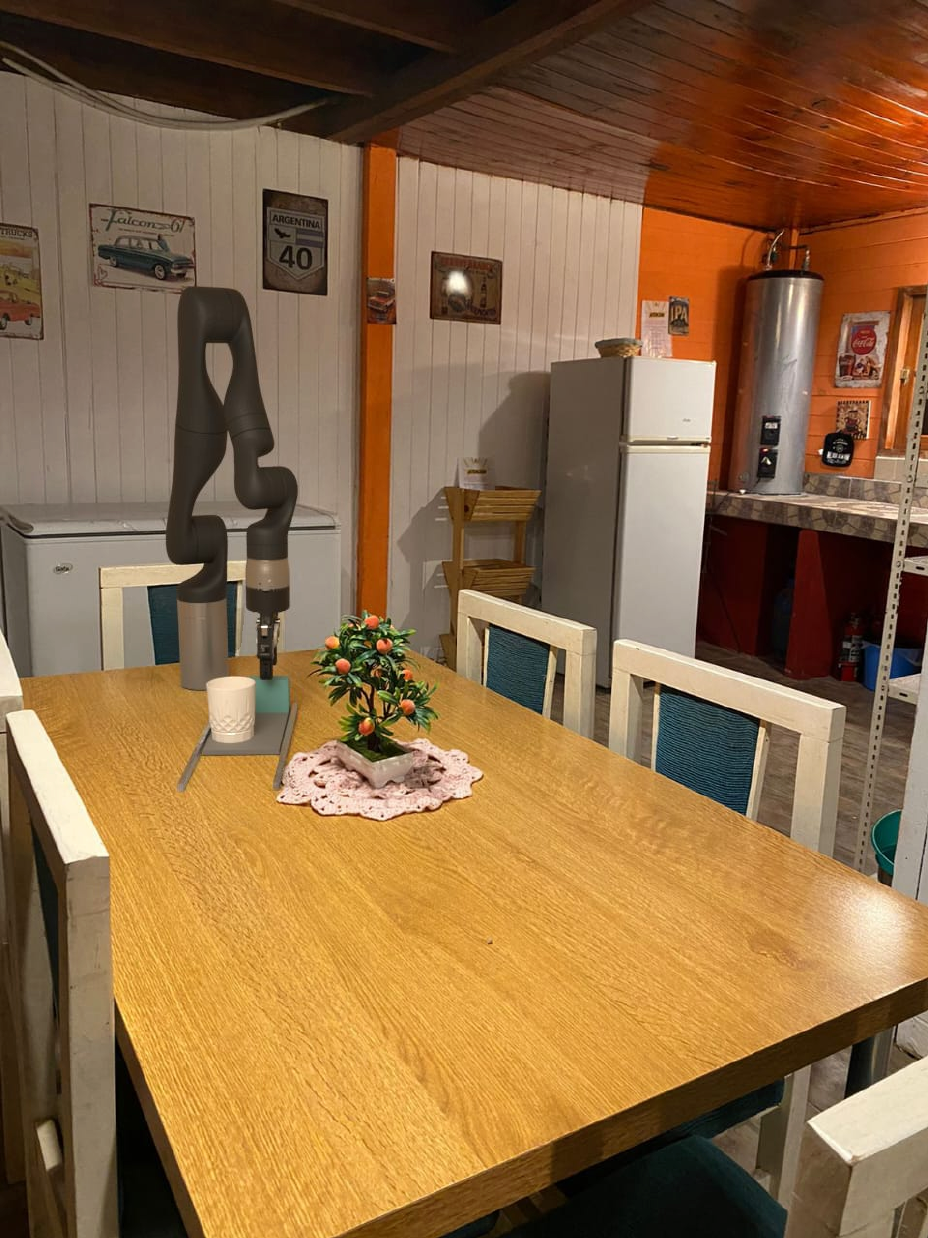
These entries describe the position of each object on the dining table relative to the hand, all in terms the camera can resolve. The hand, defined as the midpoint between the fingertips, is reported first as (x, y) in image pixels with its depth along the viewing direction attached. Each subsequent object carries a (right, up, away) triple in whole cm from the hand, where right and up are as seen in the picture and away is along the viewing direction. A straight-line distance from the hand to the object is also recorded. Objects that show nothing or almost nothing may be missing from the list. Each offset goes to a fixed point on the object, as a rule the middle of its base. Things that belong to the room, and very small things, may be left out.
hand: (268, 672), depth 173 cm
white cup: (-4, -11, -12) cm, 16 cm away
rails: (-1, -11, -14) cm, 18 cm away
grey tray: (-2, -10, -7) cm, 12 cm away
